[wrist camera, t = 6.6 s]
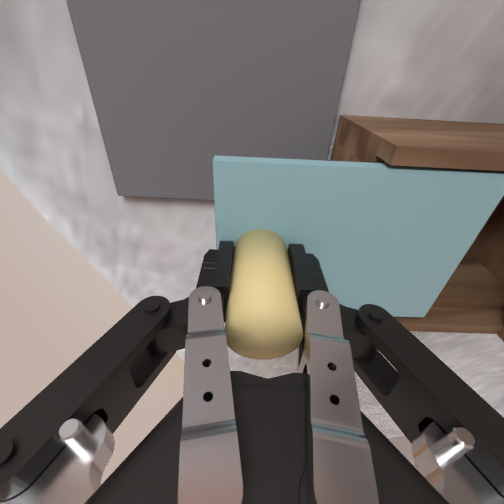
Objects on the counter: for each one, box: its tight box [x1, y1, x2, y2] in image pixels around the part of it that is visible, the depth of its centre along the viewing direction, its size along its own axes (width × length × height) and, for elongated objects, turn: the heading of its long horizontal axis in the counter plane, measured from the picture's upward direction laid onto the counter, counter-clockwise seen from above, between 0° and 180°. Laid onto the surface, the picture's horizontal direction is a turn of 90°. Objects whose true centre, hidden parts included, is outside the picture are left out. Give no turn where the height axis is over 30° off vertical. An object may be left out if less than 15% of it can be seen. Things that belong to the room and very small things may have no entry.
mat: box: [66, 0, 360, 200], centre depth 17 cm, size 13×16×1 cm
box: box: [330, 115, 504, 341], centre depth 18 cm, size 12×15×9 cm
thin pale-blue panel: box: [213, 155, 504, 359], centre depth 13 cm, size 10×14×6 cm
